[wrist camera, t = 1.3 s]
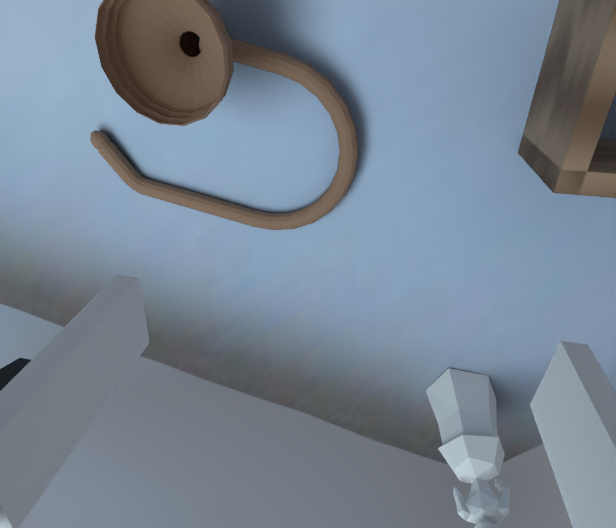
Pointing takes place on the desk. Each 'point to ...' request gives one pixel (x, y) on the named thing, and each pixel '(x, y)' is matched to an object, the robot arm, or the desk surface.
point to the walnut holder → (575, 102)
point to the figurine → (471, 442)
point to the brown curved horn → (201, 93)
